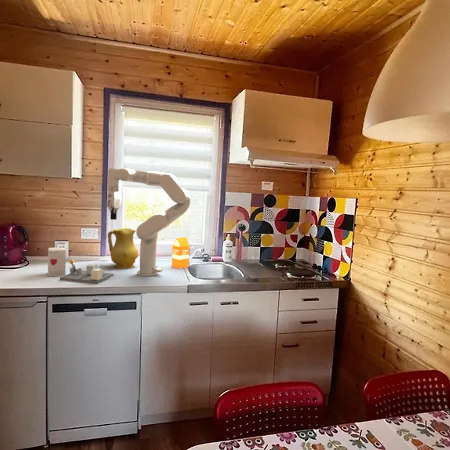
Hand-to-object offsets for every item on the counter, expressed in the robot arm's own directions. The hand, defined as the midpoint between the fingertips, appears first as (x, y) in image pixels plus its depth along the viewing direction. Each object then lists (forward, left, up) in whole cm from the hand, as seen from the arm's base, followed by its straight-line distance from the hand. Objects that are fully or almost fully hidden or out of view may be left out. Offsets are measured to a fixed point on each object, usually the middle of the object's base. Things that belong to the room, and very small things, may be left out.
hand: (113, 219), depth 208 cm
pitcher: (0, -15, -32) cm, 36 cm away
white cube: (+4, +16, -30) cm, 35 cm away
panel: (+5, +19, -32) cm, 38 cm away
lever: (+12, +19, -29) cm, 37 cm away
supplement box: (+25, +18, -32) cm, 45 cm away
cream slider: (-4, +25, -30) cm, 39 cm away
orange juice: (-35, -28, -32) cm, 55 cm away
